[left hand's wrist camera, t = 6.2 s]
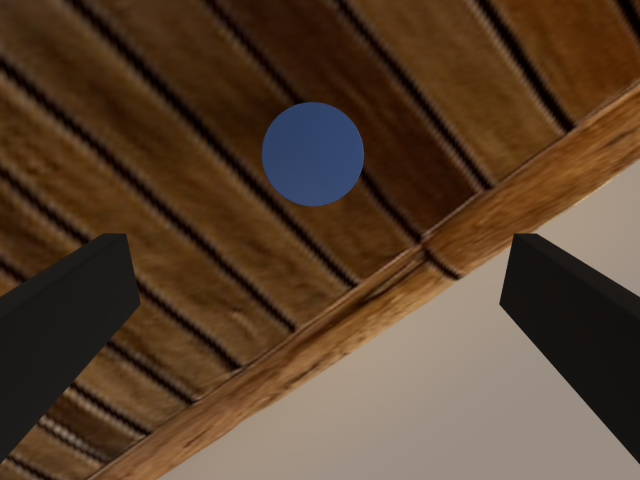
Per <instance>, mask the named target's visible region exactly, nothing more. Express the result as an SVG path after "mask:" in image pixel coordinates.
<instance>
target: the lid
mask: <svg viewBox="0 0 640 480" xmlns="http://www.w3.org/2000/svg"><path fill="white" fill-rule="evenodd" d="M363 159H364V151H363V144H362V140H361V137H360V134H359V132H358V130H357V128H356V126H355V125H354V124H353V122H352V121H351V120H350V119H349V118H348V117H347V116H346V115H345V114H344V113H343V112H341V111H340V110H338V109H336V108H335V107H333V106H330V105H328V104H324V103H318V102H307V103H301V104H298V105H295V106H292V107H290V108H288V109H286V110H285V111H283V112H282V113H281V114H280V115H278V116H277V117H276V118H275V120H274V121H273V122H272V123H271V125H270V126H269V128H268V130H267V132H266V134H265V137H264V140H263V145H262V163H263V168H264V171H265V174H266V176H267V178H268V180H269V182H270V183H271V185H272V186H273V187H274V188H275V189H276V191H277V192H279V193H280V194H281V195H282V196H283V197H285V198H286V199H288V200H290V201H292V202H294V203H297V204H301V205H305V206H321V205H326V204H329V203H332V202H334V201H336V200H338V199H340V198H341V197H343V196H344V195H345V194H346V193H347V192H348V191H349V190H350V189H351V188H352V187H353V186H354V184H355V183H356V181H357V179H358V177H359V175H360V173H361V169H362V166H363Z"/></svg>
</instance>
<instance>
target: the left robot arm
mask: <svg viewBox="0 0 640 480" xmlns="http://www.w3.org/2000/svg"><path fill="white" fill-rule="evenodd" d="M499 304H500V306H501V307H502V308H503V309H504V310H505V311H506V312H507V314H508V315H509V316H510V317H511V318H512V319H513V320H514V322H515V323H516V324H517V325H518V326H519V327H520V328H521V330H522V331H523V332H524V333H525V334H526V335H527V336H528V338H529V339H530V340H531V341H532V342H533V343H534V344H535V345H536V347H537V348H538V349H539V350H540V351H541V352H542V353H543V355H544V356H545V357H546V358H547V359H548V360H549V361H550V363H551V364H552V365H553V366H554V367H555V368H556V369H557V371H558V372H559V373H560V374H561V375H562V376H563V377H564V379H565V380H566V381H567V382H568V383H569V384H570V385H571V387H572V388H573V389H574V390H575V391H576V392H577V393H578V394H579V396H580V397H581V398H582V399H583V400H584V401H585V402H586V404H587V405H588V406H589V407H590V408H591V409H592V410H593V412H594V413H595V414H596V415H597V416H598V417H599V418H600V419H601V421H602V422H603V423H604V424H605V425H606V426H607V427H608V429H609V430H610V431H611V432H612V433H613V434H614V435H615V437H616V438H617V439H618V440H619V441H620V442H621V443H622V445H623V446H624V447H625V448H626V449H627V450H628V451H629V453H630V454H631V455H632V456H633V457H634V458H635V459H636V460H637V462H638V463H639V464H640V297H639V296H637V295H636V294H634V293H632V292H631V291H629V290H627V289H626V288H624V287H623V286H621V285H619V284H618V283H616V282H614V281H613V280H611V279H610V278H608V277H606V276H605V275H603V274H601V273H600V272H598V271H597V270H595V269H593V268H592V267H590V266H588V265H587V264H585V263H584V262H582V261H580V260H579V259H577V258H575V257H574V256H572V255H571V254H569V253H567V252H566V251H564V250H562V249H561V248H559V247H558V246H556V245H554V244H553V243H551V242H550V241H548V240H546V239H545V238H543V237H541V236H540V235H538V234H514V236H513V241H512V246H511V250H510V255H509V260H508V265H507V270H506V275H505V279H504V284H503V289H502V294H501V298H500V303H499ZM140 305H141V303H140V298H139V294H138V289H137V284H136V279H135V274H134V270H133V265H132V260H131V255H130V250H129V246H128V241H127V236H126V234H102V235H100V236H99V237H97V238H95V239H94V240H92V241H90V242H89V243H87V244H86V245H84V246H82V247H81V248H79V249H78V250H76V251H74V252H73V253H71V254H69V255H68V256H66V257H65V258H63V259H61V260H60V261H58V262H56V263H55V264H53V265H52V266H50V267H48V268H47V269H45V270H43V271H42V272H40V273H39V274H37V275H35V276H34V277H32V278H30V279H29V280H27V281H26V282H24V283H22V284H21V285H19V286H17V287H16V288H14V289H13V290H11V291H9V292H8V293H6V294H4V295H3V296H1V297H0V464H1V463H2V462H3V461H4V459H5V458H6V457H7V456H8V455H9V454H10V453H11V451H12V450H13V449H14V448H15V447H16V446H17V445H18V443H19V442H20V441H21V440H22V439H23V438H24V437H25V435H26V434H27V433H28V432H29V431H30V430H31V429H32V427H33V426H34V425H35V424H36V423H37V422H38V421H39V420H40V418H41V417H42V416H43V415H44V414H45V413H46V412H47V410H48V409H49V408H50V407H51V406H52V405H53V404H54V402H55V401H56V400H57V399H58V398H59V397H60V396H61V394H62V393H63V392H64V391H65V390H66V389H67V388H68V387H69V385H70V384H71V383H72V382H73V381H74V380H75V379H76V377H77V376H78V375H79V374H80V373H81V372H82V371H83V369H84V368H85V367H86V366H87V365H88V364H89V363H90V361H91V360H92V359H93V358H94V357H95V356H96V355H97V353H98V352H99V351H100V350H101V349H102V348H103V347H104V346H105V344H106V343H107V342H108V341H109V340H110V339H111V338H112V336H113V335H114V334H115V333H116V332H117V331H118V330H119V328H120V327H121V326H122V325H123V324H124V323H125V322H126V320H127V319H128V318H129V317H130V316H131V315H132V314H133V312H134V311H135V310H136V309H137V308H138V307H139V306H140Z"/></svg>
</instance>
